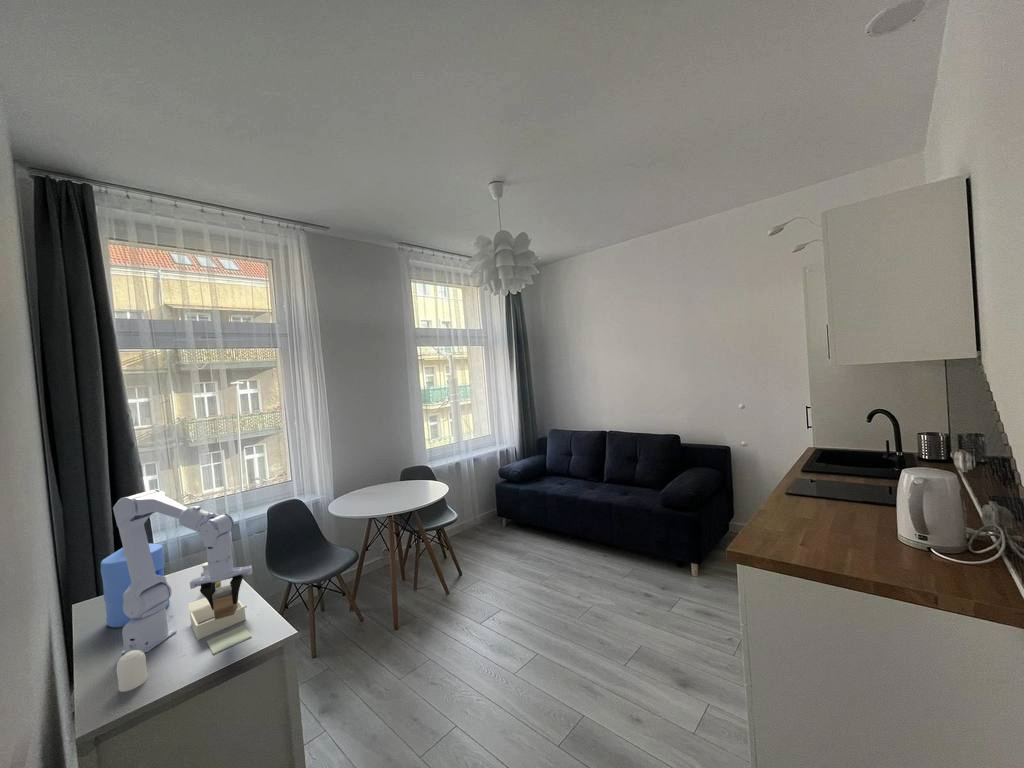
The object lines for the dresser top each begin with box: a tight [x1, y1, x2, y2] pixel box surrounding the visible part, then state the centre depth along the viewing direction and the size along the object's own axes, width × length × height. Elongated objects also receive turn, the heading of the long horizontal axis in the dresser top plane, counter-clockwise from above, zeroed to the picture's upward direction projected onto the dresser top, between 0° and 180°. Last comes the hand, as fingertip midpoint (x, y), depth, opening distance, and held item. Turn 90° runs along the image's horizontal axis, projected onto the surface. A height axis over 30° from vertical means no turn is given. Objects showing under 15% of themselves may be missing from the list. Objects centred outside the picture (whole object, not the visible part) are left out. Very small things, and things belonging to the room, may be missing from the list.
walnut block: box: [212, 584, 238, 620], centre depth 116 cm, size 4×4×7 cm
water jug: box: [100, 542, 171, 628], centre depth 136 cm, size 16×16×28 cm
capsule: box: [116, 650, 149, 693], centre depth 101 cm, size 5×5×8 cm
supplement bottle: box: [200, 561, 222, 590], centre depth 150 cm, size 5×5×10 cm
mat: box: [206, 624, 252, 655], centre depth 116 cm, size 9×9×1 cm
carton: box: [187, 596, 248, 641], centre depth 126 cm, size 20×12×6 cm, turn 46°
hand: (225, 605), depth 116 cm, fingers closed on walnut block, 4 cm apart
